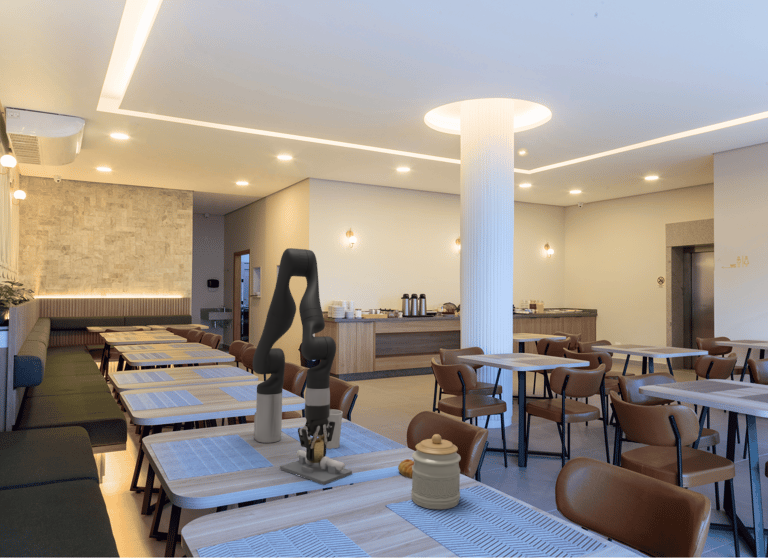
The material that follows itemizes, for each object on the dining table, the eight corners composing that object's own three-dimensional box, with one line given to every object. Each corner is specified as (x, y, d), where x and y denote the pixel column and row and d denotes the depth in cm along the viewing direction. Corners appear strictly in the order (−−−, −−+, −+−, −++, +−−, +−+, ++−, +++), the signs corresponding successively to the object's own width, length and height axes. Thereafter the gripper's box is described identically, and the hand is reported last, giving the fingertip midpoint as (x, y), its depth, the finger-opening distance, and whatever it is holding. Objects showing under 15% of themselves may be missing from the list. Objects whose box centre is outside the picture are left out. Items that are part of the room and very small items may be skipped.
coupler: (305, 460, 163) (306, 438, 163) (316, 457, 167) (316, 436, 167) (315, 464, 160) (316, 441, 160) (326, 460, 164) (326, 438, 164)
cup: (343, 443, 194) (344, 410, 194) (339, 449, 186) (340, 415, 186) (321, 442, 195) (322, 409, 195) (317, 448, 187) (317, 414, 187)
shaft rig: (279, 469, 165) (280, 452, 165) (308, 460, 174) (309, 444, 174) (323, 484, 153) (324, 467, 153) (352, 474, 162) (352, 457, 162)
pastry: (431, 478, 160) (431, 465, 161) (412, 482, 157) (412, 469, 157) (413, 469, 169) (413, 456, 169) (395, 472, 165) (395, 460, 165)
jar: (403, 494, 147) (404, 430, 147) (444, 488, 152) (445, 426, 152) (425, 513, 135) (426, 443, 135) (469, 506, 140) (470, 438, 140)
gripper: (325, 397, 172) (324, 450, 171) (291, 403, 161) (290, 461, 160) (342, 400, 167) (341, 455, 167) (308, 407, 156) (307, 467, 155)
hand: (316, 458), depth 163 cm, fingers closed on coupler, 4 cm apart
